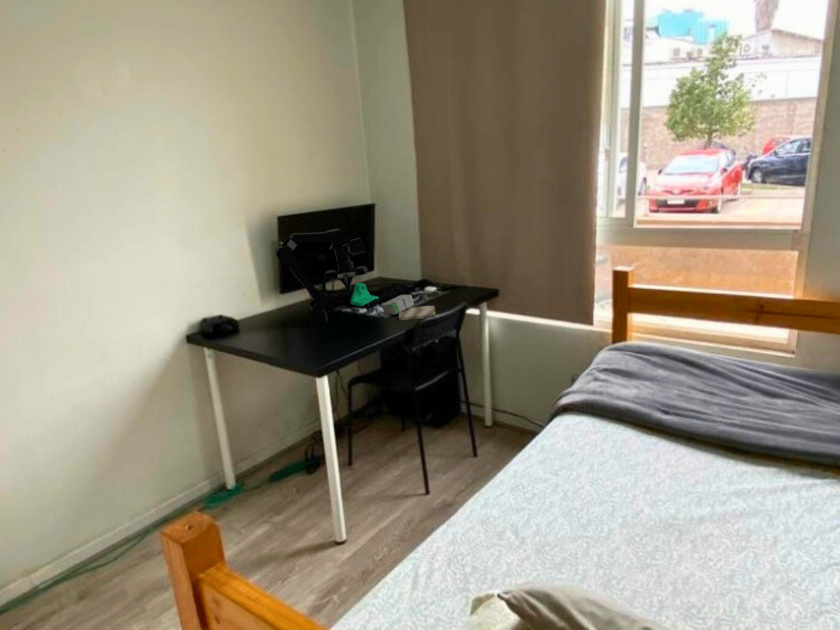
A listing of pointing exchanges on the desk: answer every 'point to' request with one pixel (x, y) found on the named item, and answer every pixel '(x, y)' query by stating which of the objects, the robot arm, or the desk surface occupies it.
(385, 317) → the desk surface
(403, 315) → the birch board
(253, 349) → the desk surface
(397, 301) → the ink box
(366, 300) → the camera mount
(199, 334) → the desk surface
